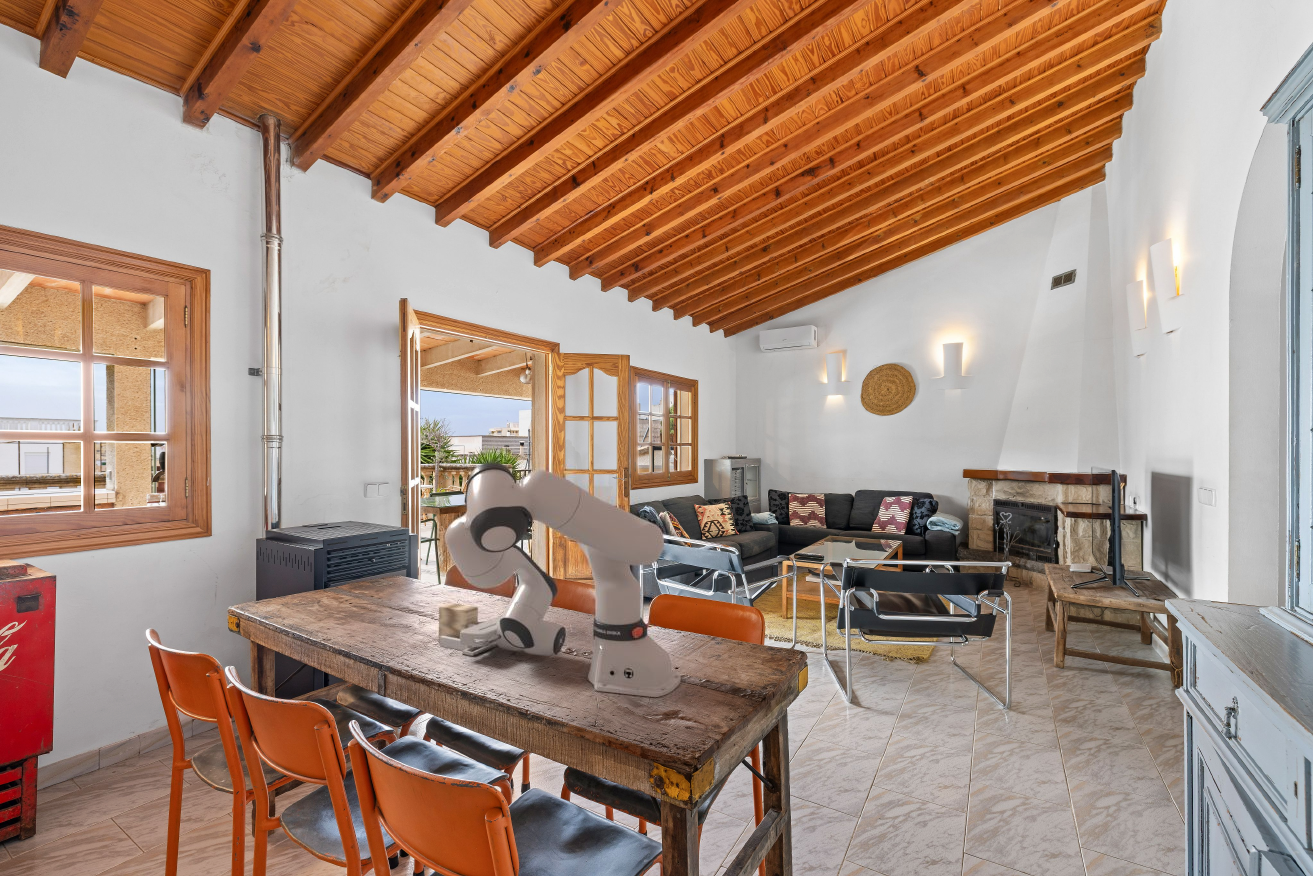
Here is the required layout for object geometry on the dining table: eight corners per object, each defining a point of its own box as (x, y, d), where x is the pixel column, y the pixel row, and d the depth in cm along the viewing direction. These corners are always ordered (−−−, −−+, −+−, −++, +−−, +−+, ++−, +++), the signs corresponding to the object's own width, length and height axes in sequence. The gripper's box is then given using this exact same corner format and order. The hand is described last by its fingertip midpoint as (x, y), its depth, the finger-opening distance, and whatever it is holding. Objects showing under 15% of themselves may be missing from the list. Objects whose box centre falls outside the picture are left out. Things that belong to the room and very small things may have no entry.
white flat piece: (489, 641, 168) (489, 633, 168) (467, 651, 160) (467, 642, 160) (462, 636, 173) (462, 628, 173) (439, 646, 165) (439, 636, 165)
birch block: (477, 642, 168) (477, 607, 168) (465, 647, 163) (466, 611, 164) (450, 637, 172) (450, 603, 172) (438, 642, 168) (439, 606, 168)
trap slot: (506, 641, 169) (506, 637, 169) (472, 656, 156) (472, 653, 156) (497, 639, 171) (497, 636, 171) (462, 654, 158) (462, 650, 158)
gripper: (484, 656, 150) (443, 647, 156) (533, 634, 169) (495, 627, 174) (485, 630, 150) (443, 623, 156) (534, 611, 169) (495, 605, 174)
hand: (471, 625), depth 165 cm, fingers closed, pressing on birch block
